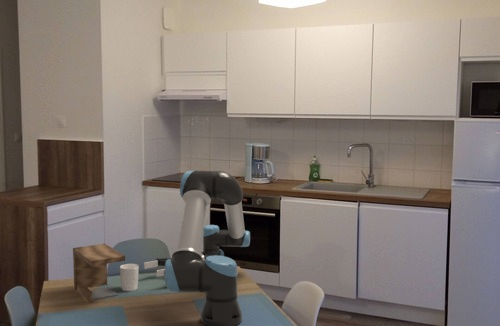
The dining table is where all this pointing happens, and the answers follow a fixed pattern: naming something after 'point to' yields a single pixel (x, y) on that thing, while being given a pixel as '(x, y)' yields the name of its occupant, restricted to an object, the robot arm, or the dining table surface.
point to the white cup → (129, 277)
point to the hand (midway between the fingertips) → (150, 269)
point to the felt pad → (102, 293)
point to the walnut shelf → (92, 267)
